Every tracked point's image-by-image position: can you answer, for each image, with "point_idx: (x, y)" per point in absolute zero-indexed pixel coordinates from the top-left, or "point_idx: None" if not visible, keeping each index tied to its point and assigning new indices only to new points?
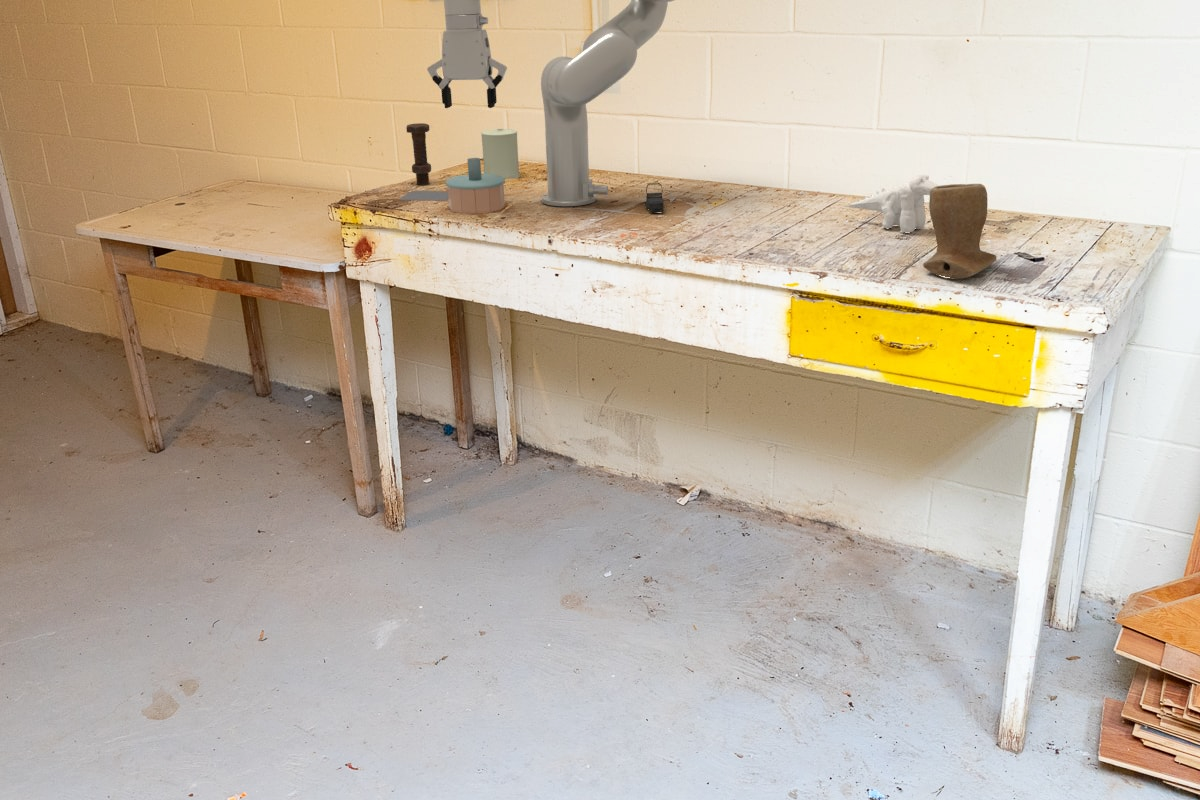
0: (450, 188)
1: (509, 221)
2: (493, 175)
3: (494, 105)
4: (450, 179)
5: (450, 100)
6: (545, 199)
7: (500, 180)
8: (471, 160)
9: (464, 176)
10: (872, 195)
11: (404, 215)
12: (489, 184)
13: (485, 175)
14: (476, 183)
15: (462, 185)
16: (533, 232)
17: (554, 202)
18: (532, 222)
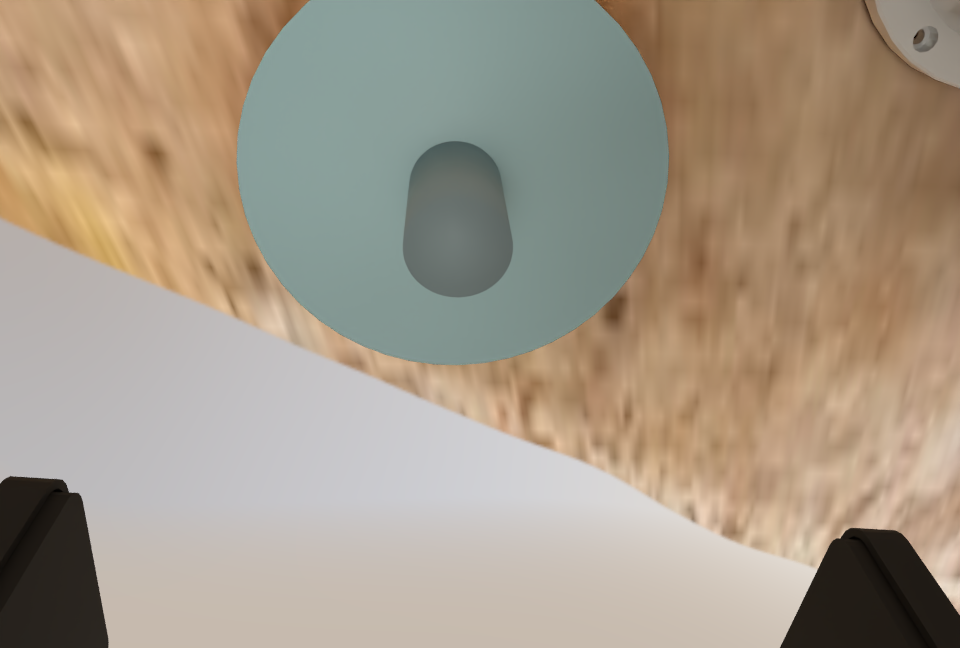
0: None
1: (646, 365)
2: (578, 39)
3: (891, 540)
4: (266, 175)
5: (38, 620)
6: (885, 9)
7: (641, 229)
8: (447, 296)
9: (345, 67)
10: None
11: (66, 236)
12: (573, 327)
13: (512, 35)
14: (486, 312)
15: (405, 359)
16: (743, 519)
17: (926, 74)
18: (751, 384)
